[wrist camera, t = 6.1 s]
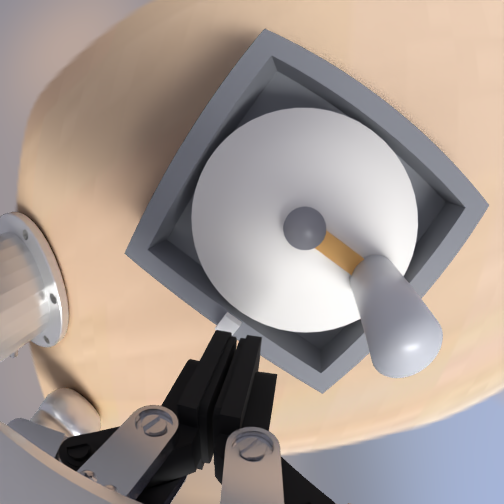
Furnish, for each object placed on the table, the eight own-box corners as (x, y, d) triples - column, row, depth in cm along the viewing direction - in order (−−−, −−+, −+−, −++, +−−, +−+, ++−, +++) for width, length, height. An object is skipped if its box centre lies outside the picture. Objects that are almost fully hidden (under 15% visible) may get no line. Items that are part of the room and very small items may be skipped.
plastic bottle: (52, 374, 23) (-57, 477, 4) (92, 387, 22) (-30, 519, 3) (77, 417, 25) (-12, 518, 6) (118, 431, 23) (25, 557, 4)
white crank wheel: (174, 242, 14) (83, 294, 8) (276, 80, 11) (240, 1, 5) (323, 344, 14) (322, 450, 8) (438, 200, 11) (532, 231, 5)
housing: (322, 359, 16) (322, 400, 12) (154, 239, 16) (118, 256, 12) (459, 197, 12) (495, 206, 8) (273, 54, 12) (262, 23, 8)
